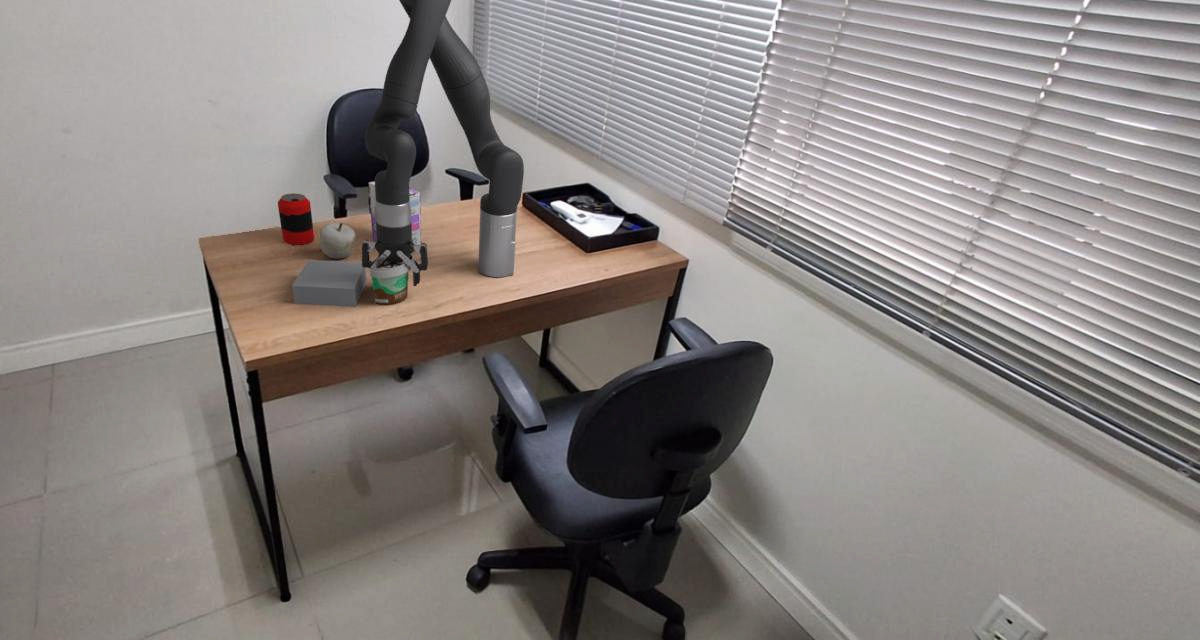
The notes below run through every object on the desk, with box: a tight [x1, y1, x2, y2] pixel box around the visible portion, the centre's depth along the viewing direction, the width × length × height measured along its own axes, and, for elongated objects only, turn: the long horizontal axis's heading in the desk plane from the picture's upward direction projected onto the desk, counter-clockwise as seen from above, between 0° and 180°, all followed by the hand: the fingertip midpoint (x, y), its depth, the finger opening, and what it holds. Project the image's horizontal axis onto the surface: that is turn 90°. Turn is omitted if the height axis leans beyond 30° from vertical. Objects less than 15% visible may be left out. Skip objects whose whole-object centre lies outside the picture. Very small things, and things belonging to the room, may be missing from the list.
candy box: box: [368, 180, 422, 252], centre depth 165 cm, size 14×6×16 cm, turn 58°
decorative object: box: [318, 221, 357, 260], centre depth 156 cm, size 9×9×10 cm
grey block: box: [291, 259, 368, 308], centre depth 143 cm, size 13×13×5 cm
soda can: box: [277, 192, 315, 246], centre depth 161 cm, size 8×8×12 cm
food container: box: [369, 260, 412, 306], centre depth 143 cm, size 12×6×10 cm, turn 168°
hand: (396, 283), depth 143 cm, fingers open, 8 cm apart
